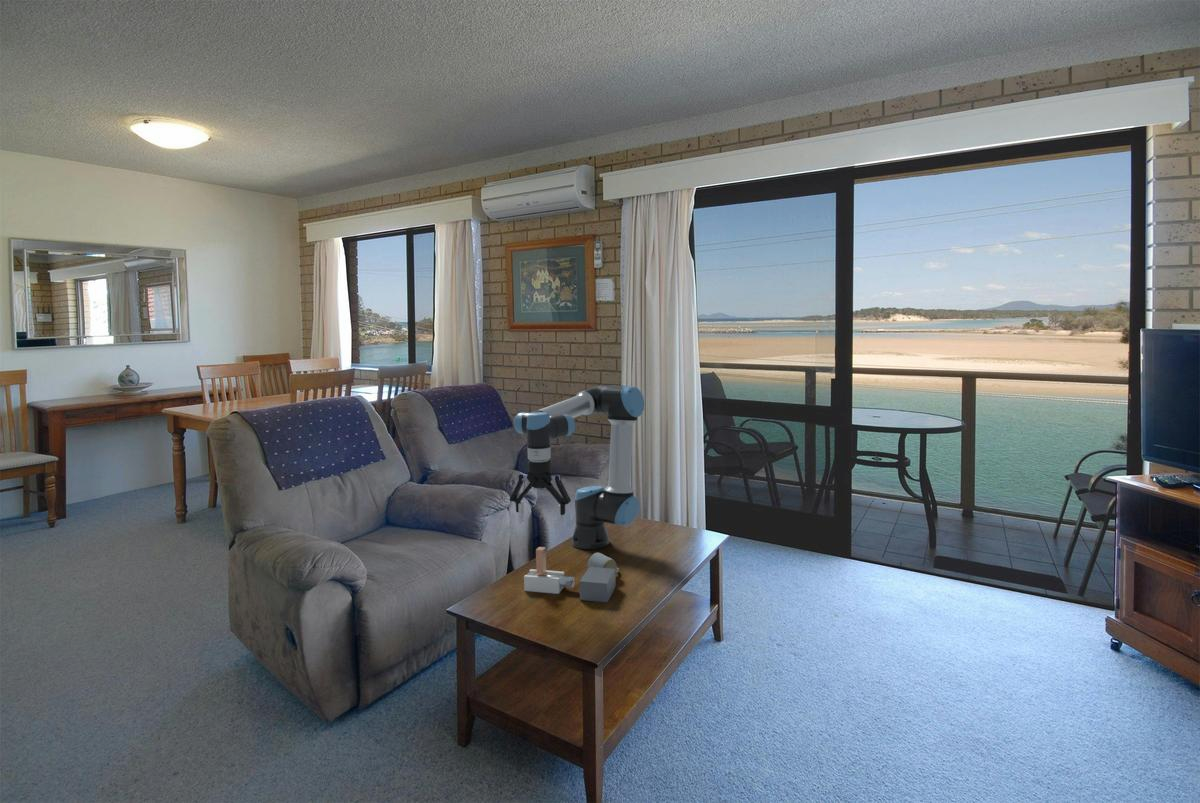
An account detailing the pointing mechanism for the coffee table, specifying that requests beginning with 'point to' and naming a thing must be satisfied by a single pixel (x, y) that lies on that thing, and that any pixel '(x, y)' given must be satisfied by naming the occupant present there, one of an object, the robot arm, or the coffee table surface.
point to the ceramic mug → (602, 562)
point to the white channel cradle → (543, 582)
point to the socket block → (597, 584)
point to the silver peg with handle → (541, 569)
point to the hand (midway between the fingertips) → (540, 523)
